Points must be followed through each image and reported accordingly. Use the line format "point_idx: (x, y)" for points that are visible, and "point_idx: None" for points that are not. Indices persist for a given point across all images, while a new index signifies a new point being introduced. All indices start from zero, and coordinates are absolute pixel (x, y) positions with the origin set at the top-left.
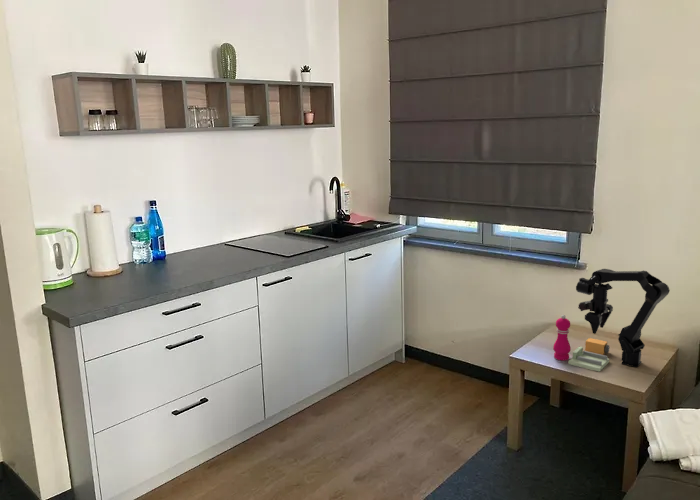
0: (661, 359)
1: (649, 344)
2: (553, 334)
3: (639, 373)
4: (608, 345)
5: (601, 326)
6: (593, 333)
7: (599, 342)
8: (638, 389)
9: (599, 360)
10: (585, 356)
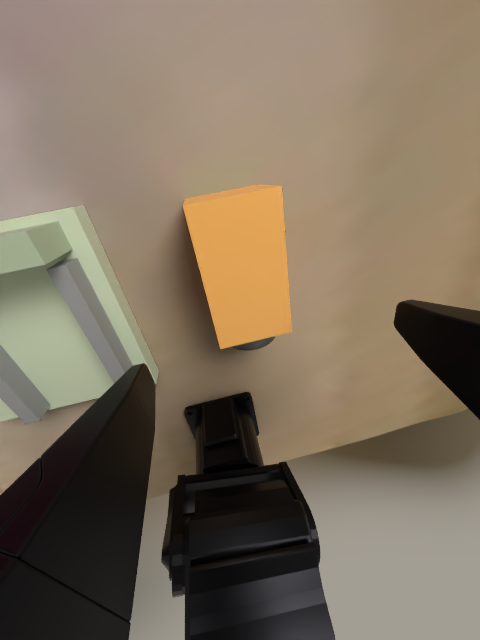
0: (328, 441)
1: None
2: None
3: (162, 468)
4: (258, 348)
5: (406, 321)
6: (134, 370)
7: (242, 306)
8: None
9: (87, 371)
10: (49, 293)
